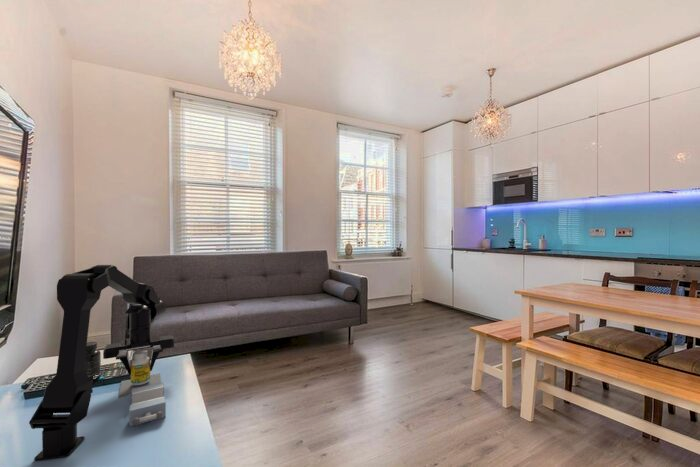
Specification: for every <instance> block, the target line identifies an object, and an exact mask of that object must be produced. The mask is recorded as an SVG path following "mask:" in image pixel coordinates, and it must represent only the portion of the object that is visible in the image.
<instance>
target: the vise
mask: <svg viewBox="0 0 700 467" xmlns="http://www.w3.org/2000/svg"><path fill="white" fill-rule="evenodd" d="M130 396H131V405H129V427H133V426H137V425H140V424H144V423H147V422H148V423H149V422H151V421H155V420H159V419H162V418H166V415H167V412H166V411H167V410H166V408H167V405H166V404H167V403H166V402H167V401H166V397H165V382H164V381H161V383H156V384H152V385H147V386H143V387H138V388H133V389H132V393H131V395H130Z"/></svg>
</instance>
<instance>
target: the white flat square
mask: <svg viewBox="0 0 700 467" xmlns="http://www.w3.org/2000/svg"><path fill="white" fill-rule="evenodd" d="M161 380H162V379H161V373H154V374H150V380H149V381H148V382H147V383H145V384H142V385H132V384H131V378H130V379H126V380H121V382H120V386H119V392H118V398H121V397H126V396H131V393H132V389H133V388H138V387H143V386H147V385H152V384H156V383H161V382H162V381H161Z"/></svg>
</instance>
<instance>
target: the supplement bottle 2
mask: <svg viewBox="0 0 700 467" xmlns="http://www.w3.org/2000/svg"><path fill="white" fill-rule="evenodd" d="M148 353H149V352H148V350H146V349H145V350H144V349H140V350H137V351H135V352H133V353H132V358H133V359H132V360H130V367H131V375H130V379H131V384H132V385H142V384H145V383H147V382H148V381H149V380H150V375H151V371H150V364H151V358H150V357H149V356H148Z"/></svg>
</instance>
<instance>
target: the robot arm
mask: <svg viewBox="0 0 700 467" xmlns="http://www.w3.org/2000/svg"><path fill="white" fill-rule="evenodd" d="M107 287H110V288H112V289H113V290H115V291H117V292H119V293H120V294H121V295H122V297H121V298H122V299H123V300H124V301H125V302H126V303H127V304H129V305H130V306H129V308H128V309H126V310H125V314H128V315H129V328H127V329H125V332H124V338H125V340H129V344H125V345H124V344H123V345H121V342H116V343H109V344H106V345H105V346H104V349H103V351H102V353H103V354H102V355H103V356H102V357H103V358H102V359H103V360H104V359H105V360H107V359H113V358H115V360H120V361H121V363H122V364H123V366H124V368H125V370H126V371H127V372H126V373H127V374H128V376H131V367H130V363H131V360H130V356H129V354H130V353H129V352H130V351H136V350H137V351H138V350H144V349H148V348H152V351H151V358H150V372H152V371H153V368H154V365H155V363H156V361H157V358H158V357H159V354H161V353H163V352H164V350H166V349H172V348H175V340H174V336H173V335H172V334H169V335H163V336H159V339H157V340H152V326H151V324H152V320H154V319H156V318H158V317H161V316H163V315H164V314H165V312H166V310H167V306H166V304H165V302H164V301H162V300H161V297H159V296H158V295H157V292H156V290H155V289H154V287H153V286H152V285H151V284H147V283H141V282H138V281H135V280H134V279H133V278H131V277H130V276H128V275H127V274H125V273H124V272H122V271H121V270H119V269H118V267H117V266H116V265H114V264H97V265H95V266H91V267H90V268H87V269H83V270H80V271H76V272H72V273H66V274H64V275H63V276H62V277H60V278H59V279H58V281H57V283H56V300H57V302H58V304H59V305H60V307H61V308H62V310H63V316H62V326H61V334H60V340H59V341H60V342H59V349H58V358H57V365H56V366H57V367H56V374H55V375H54V377H53V378H52V379H51V380H50V382H49V383H48V384H47V385H46V387H45V389H44V395H43V397H42V400H41V401H40V403H39V405H38V406H37V408H36V410H35V412H34V413H33V415H32V417H31V418H30V420H29V422H28V424H29V427H30V428H31V429H32V430H36V429H42V432H41V435H42V436H41V437H42V438H41V440H42V441H41V442H42V445H41V446H42V448H41V449H42V450H41V451H40V452H38V453H37V455H36V456H34V458H33V460H34V461H43V460H49V459H50V460H51V459H57V458H58V459H59V458H66V457H68V456H70V455H71V454H72V452H73V451H74V450H75V449H77V447H78V446H79V445H80V444H81V443H82V442H83V441H84V440H85V436H78V423H80V422H81V421H82V420H84V419H86V417H87V415H88V412H89V407H90V403H91V399H92V394H93V393H94V392H93V391H94V390H93V385H94V381H93V380H94V379H93V376H92V375H90V376H87V374H86V373H85V371H84V364H85V355H86V346H87V342H88V336H89V326H90V318H91V310H92V309H93V307H94V306H95V304H97V302H98V301H99V300H100V298H101V293H102V290H104V289H106V288H107Z"/></svg>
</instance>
